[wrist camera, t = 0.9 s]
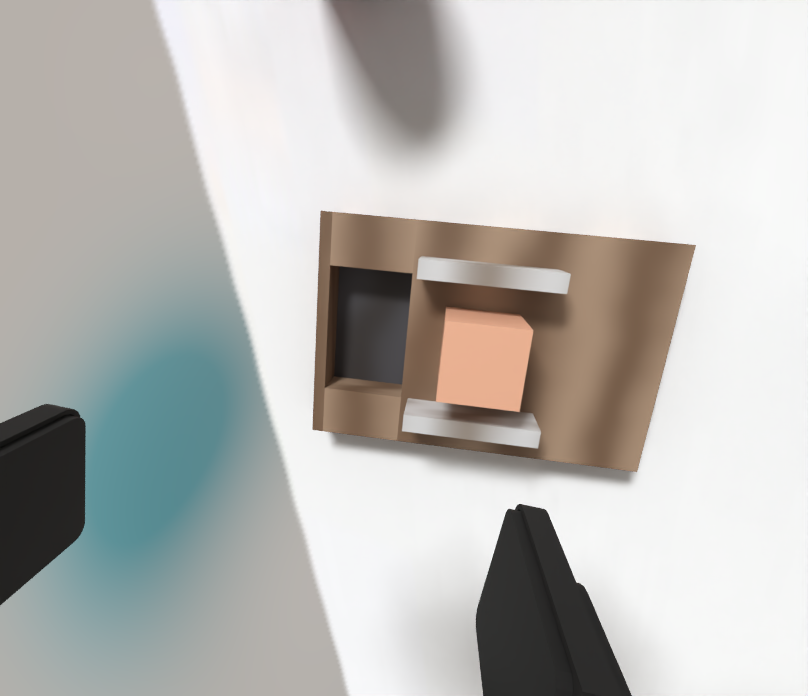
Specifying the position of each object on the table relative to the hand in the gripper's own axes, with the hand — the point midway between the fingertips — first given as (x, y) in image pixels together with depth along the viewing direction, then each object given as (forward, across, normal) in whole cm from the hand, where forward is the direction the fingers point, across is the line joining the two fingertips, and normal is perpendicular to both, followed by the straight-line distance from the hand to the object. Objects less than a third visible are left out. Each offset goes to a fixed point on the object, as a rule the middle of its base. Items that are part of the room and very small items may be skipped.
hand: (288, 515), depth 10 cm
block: (+22, -6, 0) cm, 23 cm away
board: (+25, -7, 0) cm, 26 cm away
